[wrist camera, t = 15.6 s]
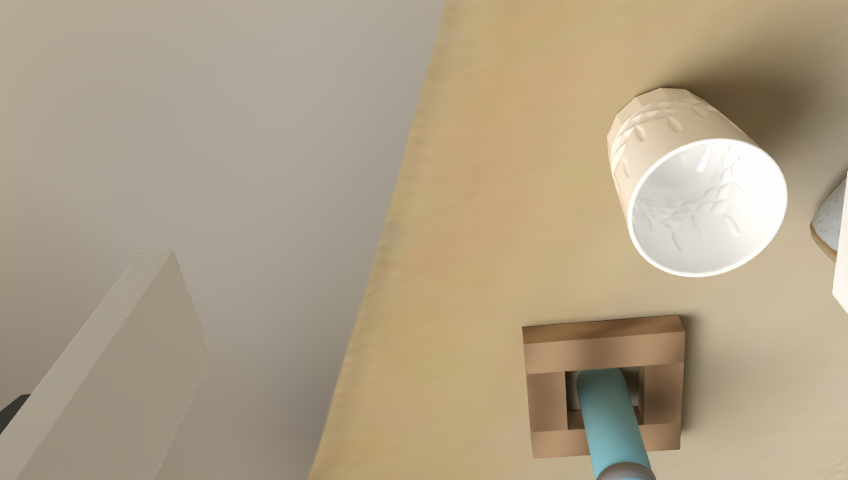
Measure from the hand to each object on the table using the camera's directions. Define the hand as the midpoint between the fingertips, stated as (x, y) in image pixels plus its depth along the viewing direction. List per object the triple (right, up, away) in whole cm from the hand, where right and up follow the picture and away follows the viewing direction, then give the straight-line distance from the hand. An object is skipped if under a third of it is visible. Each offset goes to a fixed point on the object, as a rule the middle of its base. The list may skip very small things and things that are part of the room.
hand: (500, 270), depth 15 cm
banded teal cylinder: (+12, -10, +41) cm, 44 cm away
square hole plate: (+12, -10, +41) cm, 44 cm away
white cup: (+13, +7, +32) cm, 35 cm away
